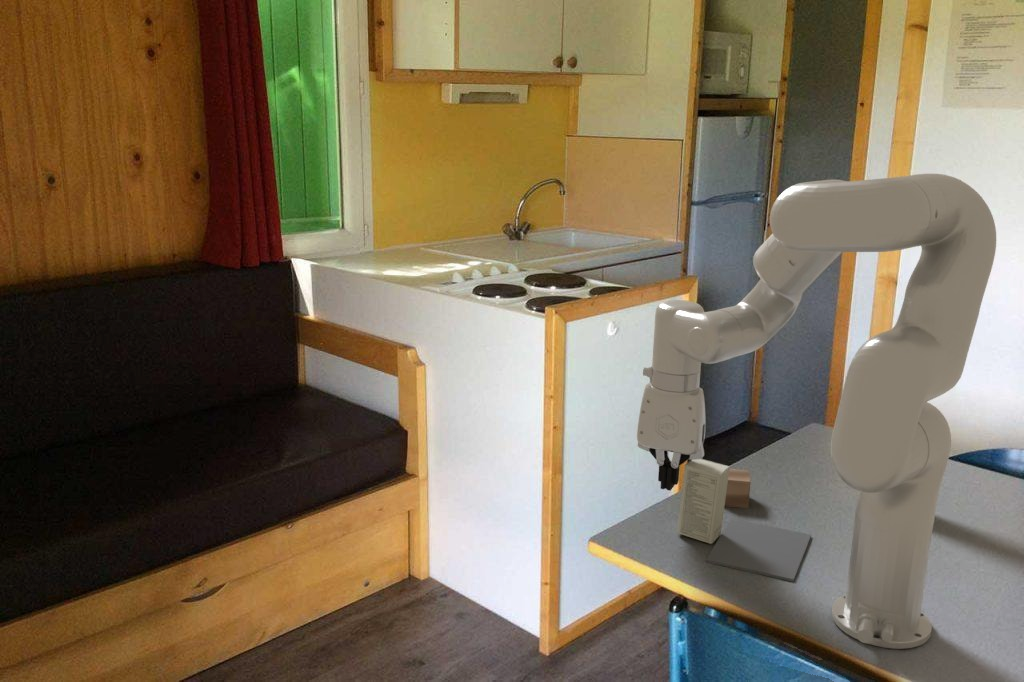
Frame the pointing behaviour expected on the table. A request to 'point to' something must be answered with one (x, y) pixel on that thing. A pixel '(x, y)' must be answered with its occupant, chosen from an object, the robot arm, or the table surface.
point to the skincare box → (703, 500)
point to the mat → (760, 549)
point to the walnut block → (738, 488)
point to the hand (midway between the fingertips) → (668, 486)
